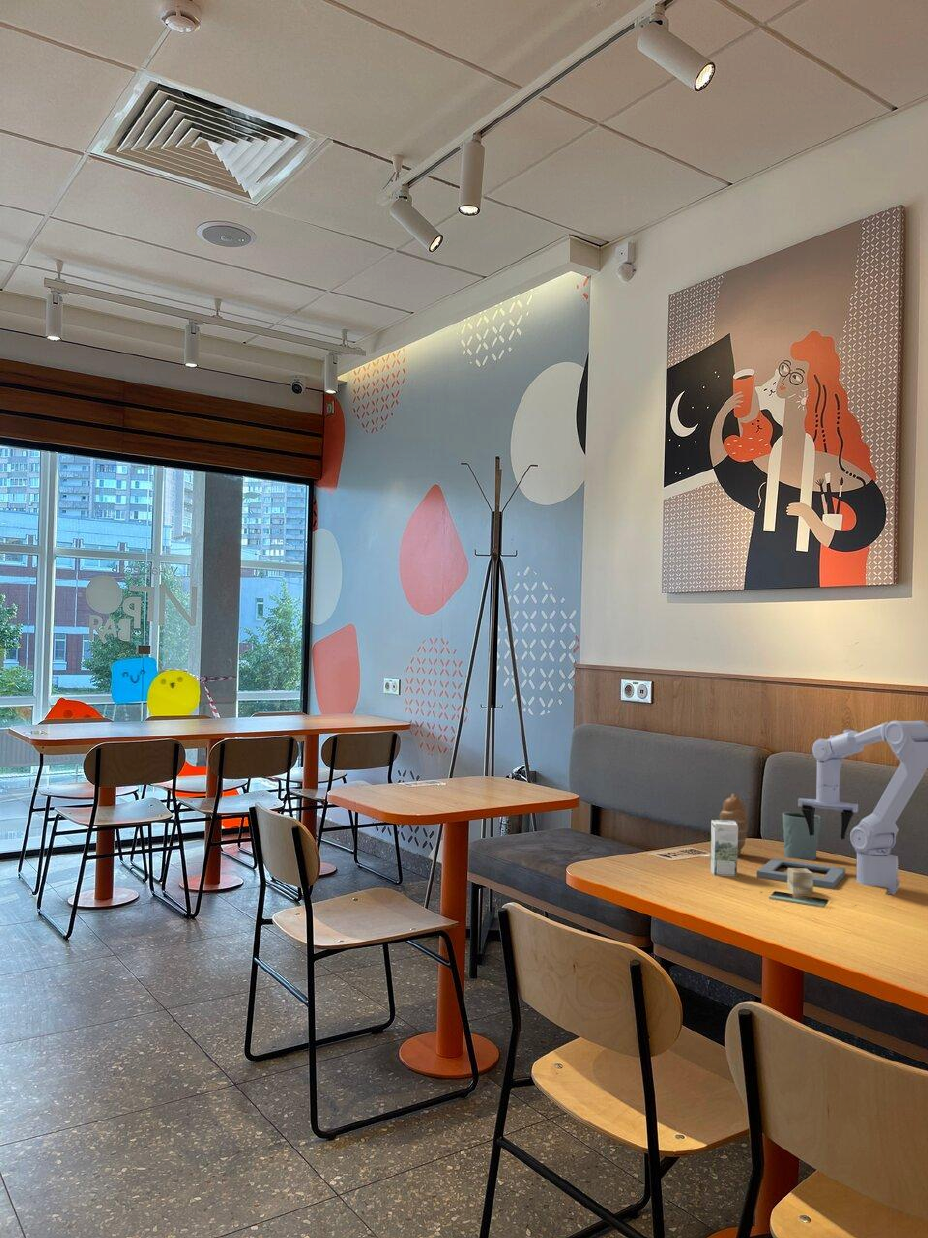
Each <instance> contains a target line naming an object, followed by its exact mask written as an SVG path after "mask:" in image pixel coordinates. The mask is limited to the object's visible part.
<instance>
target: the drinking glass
mask: <svg viewBox="0 0 928 1238" xmlns="http://www.w3.org/2000/svg"><path fill="white" fill-rule="evenodd" d="M781 816H782V831H783V834H782V835H783V856H784V857H785V858H788V859H789V858H790V859H795V860H803V861H814V859H815V860H816V858H817V851H818V850H817V849H818V847H817V846H818V840H819V832H820V823H821V820H822V819H821V816H820V815H817V814H814V835H813V836H812V835H810V833H809V828H808V824H807V821H806V818H805V816H804V814H803V812H802V811H800V812H797V811H786V812H782V815H781Z"/></svg>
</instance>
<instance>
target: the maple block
mask: <svg viewBox="0 0 928 1238" xmlns="http://www.w3.org/2000/svg"><path fill="white" fill-rule="evenodd" d="M786 868H787V869H786V870H787V871H786V872H787V882H786V888H787V890H788V891H789V892H790V893H789V892H787V893H788V894H789V895H790V896H791V897H792V898H799V899H813V897H814V896H810V895H813V892H814V886H813V874H814V873H813V871H812V870H808V869H805V868H792V867H786Z"/></svg>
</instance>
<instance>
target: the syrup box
mask: <svg viewBox="0 0 928 1238" xmlns="http://www.w3.org/2000/svg"><path fill="white" fill-rule="evenodd" d="M710 823H711V825H710V827H711V828H710V859H709V860H710V865H709V869H710V870H709V873H712V875H714V876H723V877H724V876H725V877H737V876H738V856H737V848H738V826H737V824H736V822H734V821H724V820H720V819H711V822H710Z"/></svg>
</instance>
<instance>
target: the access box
mask: <svg viewBox="0 0 928 1238" xmlns="http://www.w3.org/2000/svg"><path fill="white" fill-rule="evenodd" d="M780 867H786V868H805V869H808V870H809V871H811V872H813V871H814V872H820V873H826V874H824V876H823V877H821V876H822V875H821V874H815V873H813V887H817V888H825V889H831V890H834V889H835V888H836V886H837V885H838V884H839V883H840V882H841V880H842V879H843V878H844V877H845V875H846V867H840V866H832V865H823V864H817V863H809V862H804V861H795V860H789V859H783V858H777V857H776V858H774V857H773V858H771V859H770V860H768V861H767V862H766V863H765V864H763V866H761V867H760V868H759V869H757V870H756V878H759V879H765V880H773V881H777V882H778V881H779V882H785V883H787V871H786V872H784V871H779V870H778V871H777V869H778V868H780Z"/></svg>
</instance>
